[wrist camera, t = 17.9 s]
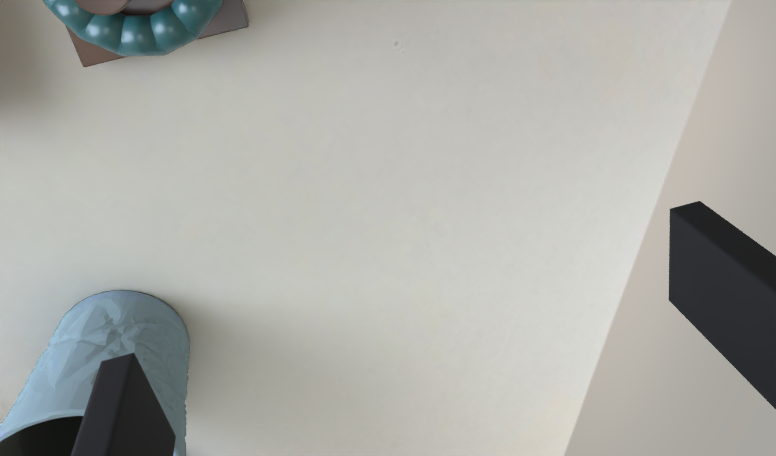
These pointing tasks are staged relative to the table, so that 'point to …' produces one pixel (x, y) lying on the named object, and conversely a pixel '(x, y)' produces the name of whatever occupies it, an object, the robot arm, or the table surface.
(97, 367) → the blue-grey embossed cup
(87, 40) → the teal beaded ring
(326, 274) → the table surface
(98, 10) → the stand
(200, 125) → the table surface
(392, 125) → the table surface
